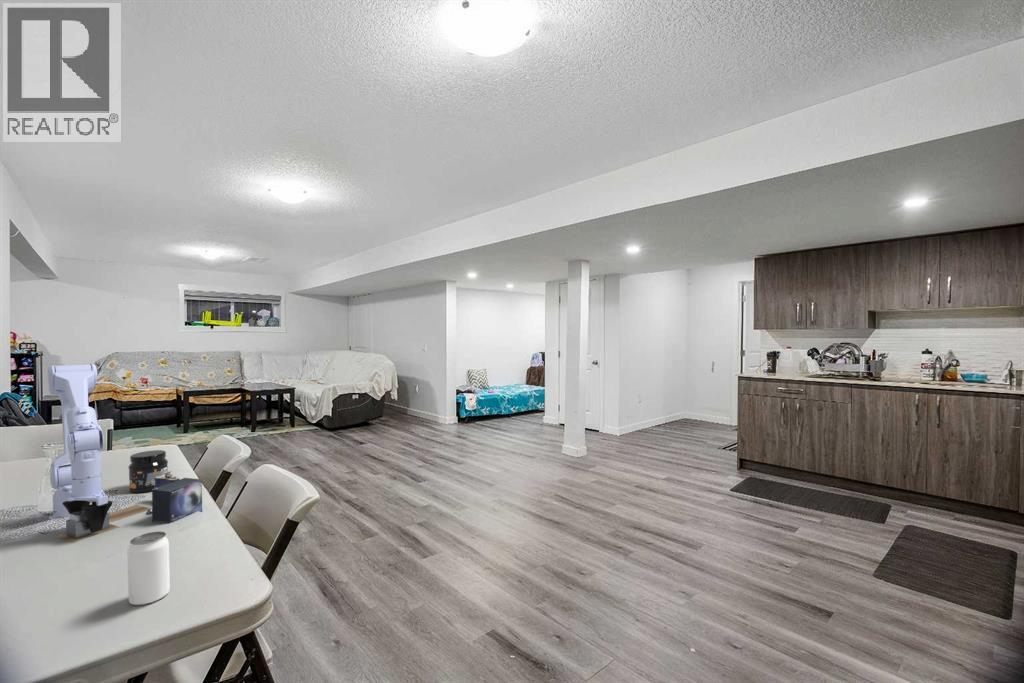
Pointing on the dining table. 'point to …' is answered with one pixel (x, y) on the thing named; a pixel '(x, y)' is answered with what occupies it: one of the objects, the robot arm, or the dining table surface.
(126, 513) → the stand
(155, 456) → the supplement container
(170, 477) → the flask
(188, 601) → the dining table surface
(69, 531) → the block
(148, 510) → the loose bolt
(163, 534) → the can
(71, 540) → the stand
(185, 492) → the small box
